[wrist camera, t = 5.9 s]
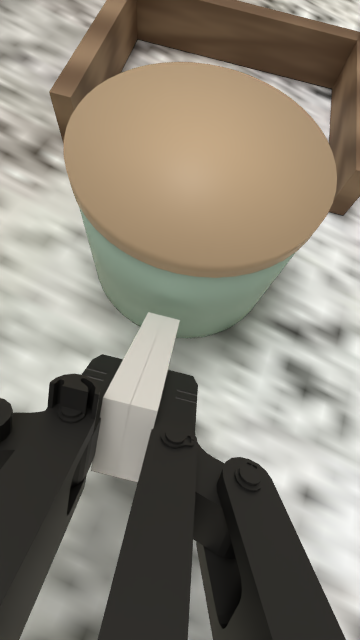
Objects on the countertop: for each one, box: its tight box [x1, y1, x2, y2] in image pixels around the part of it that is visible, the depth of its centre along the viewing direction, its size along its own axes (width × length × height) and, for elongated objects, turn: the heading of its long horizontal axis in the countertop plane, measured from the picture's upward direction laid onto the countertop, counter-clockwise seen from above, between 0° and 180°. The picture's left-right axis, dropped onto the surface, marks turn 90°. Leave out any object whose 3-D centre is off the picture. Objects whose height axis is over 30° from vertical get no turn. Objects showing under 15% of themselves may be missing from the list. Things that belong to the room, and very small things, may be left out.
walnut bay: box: [49, 0, 360, 215], centre depth 26 cm, size 18×23×4 cm
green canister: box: [64, 62, 337, 338], centre depth 18 cm, size 12×12×9 cm
